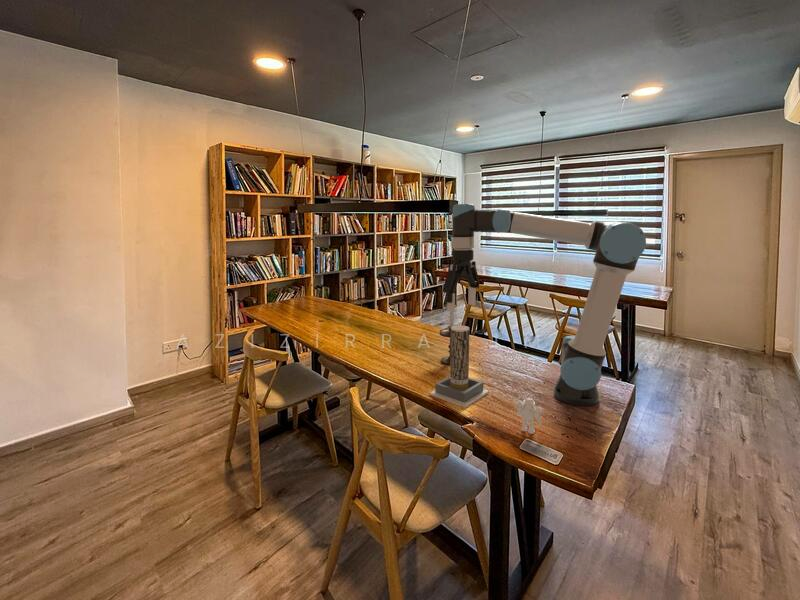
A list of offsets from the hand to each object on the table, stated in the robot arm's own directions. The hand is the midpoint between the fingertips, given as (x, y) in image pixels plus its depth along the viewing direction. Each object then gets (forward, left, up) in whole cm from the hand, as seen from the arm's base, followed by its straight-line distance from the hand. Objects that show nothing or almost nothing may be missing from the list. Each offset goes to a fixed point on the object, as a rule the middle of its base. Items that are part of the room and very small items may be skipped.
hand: (461, 308), depth 143 cm
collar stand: (0, 0, -34) cm, 34 cm away
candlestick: (+22, -26, -34) cm, 48 cm away
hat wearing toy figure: (-31, +8, -34) cm, 46 cm away
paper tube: (0, 0, -33) cm, 33 cm away
